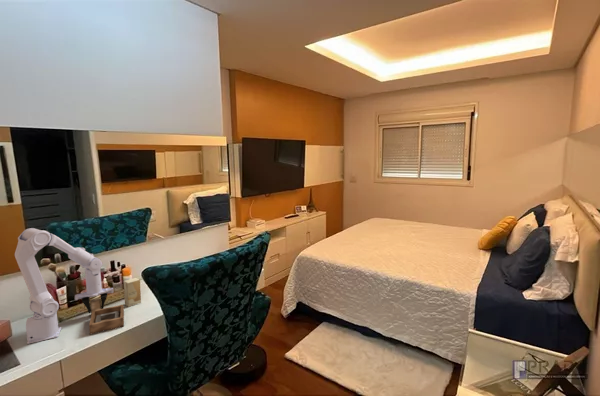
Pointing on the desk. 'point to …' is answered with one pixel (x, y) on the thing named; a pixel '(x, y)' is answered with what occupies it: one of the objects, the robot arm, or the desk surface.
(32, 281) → the robot arm
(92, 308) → the maple peg
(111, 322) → the socket box
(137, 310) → the desk surface
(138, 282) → the skincare box
